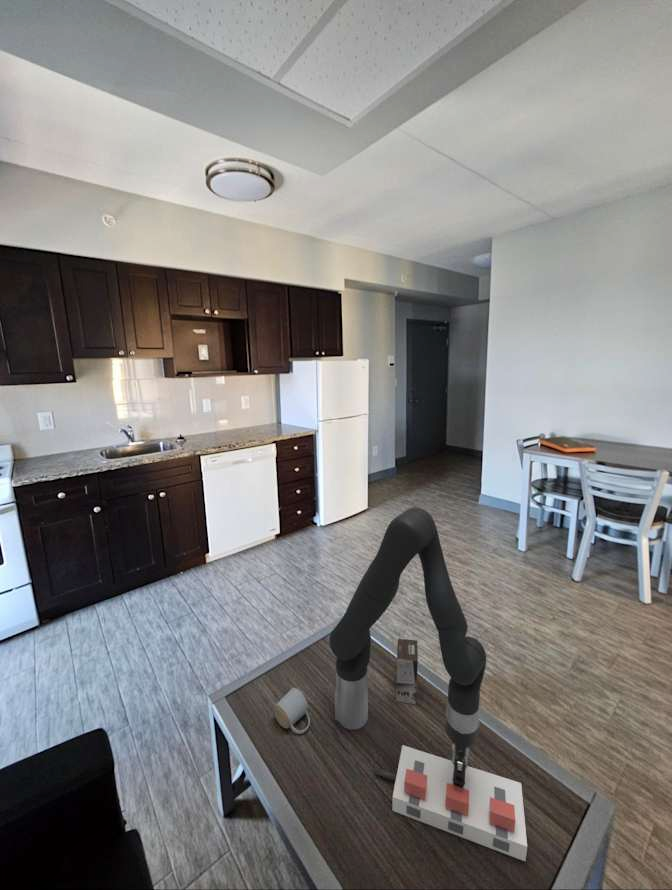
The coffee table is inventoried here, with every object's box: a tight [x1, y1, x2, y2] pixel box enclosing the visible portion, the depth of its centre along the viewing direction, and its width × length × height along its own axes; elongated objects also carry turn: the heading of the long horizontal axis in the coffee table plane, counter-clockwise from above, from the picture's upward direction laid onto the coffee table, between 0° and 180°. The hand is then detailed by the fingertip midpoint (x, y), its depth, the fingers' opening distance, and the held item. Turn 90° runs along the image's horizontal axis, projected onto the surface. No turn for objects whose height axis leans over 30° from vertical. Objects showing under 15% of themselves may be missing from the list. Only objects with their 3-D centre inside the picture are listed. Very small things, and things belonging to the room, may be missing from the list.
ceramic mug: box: [273, 687, 311, 735], centre depth 114 cm, size 11×8×8 cm
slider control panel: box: [373, 744, 528, 862], centre depth 94 cm, size 35×13×5 cm, turn 70°
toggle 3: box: [489, 797, 515, 832], centre depth 85 cm, size 5×3×4 cm, turn 70°
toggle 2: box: [445, 783, 469, 816], centre depth 88 cm, size 5×3×4 cm, turn 70°
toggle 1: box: [404, 769, 427, 800], centre depth 92 cm, size 5×3×4 cm, turn 70°
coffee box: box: [396, 638, 419, 705], centre depth 123 cm, size 9×6×16 cm
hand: (459, 769), depth 95 cm, fingers open, 8 cm apart
